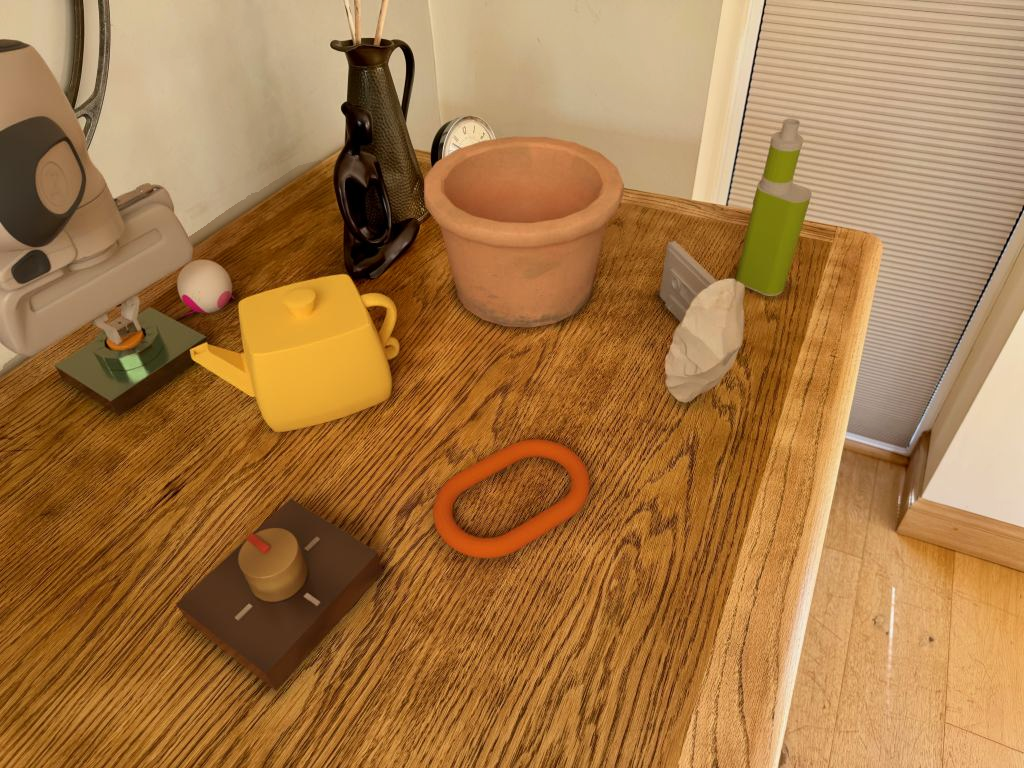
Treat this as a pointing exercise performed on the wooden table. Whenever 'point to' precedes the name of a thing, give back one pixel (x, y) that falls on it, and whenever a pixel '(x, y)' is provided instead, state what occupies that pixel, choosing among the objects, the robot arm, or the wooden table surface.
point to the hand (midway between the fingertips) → (126, 335)
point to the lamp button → (127, 342)
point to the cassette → (681, 280)
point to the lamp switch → (132, 362)
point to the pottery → (523, 225)
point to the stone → (706, 340)
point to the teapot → (309, 352)
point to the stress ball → (204, 286)
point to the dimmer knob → (273, 564)
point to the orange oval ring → (529, 528)
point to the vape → (775, 216)
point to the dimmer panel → (296, 620)
